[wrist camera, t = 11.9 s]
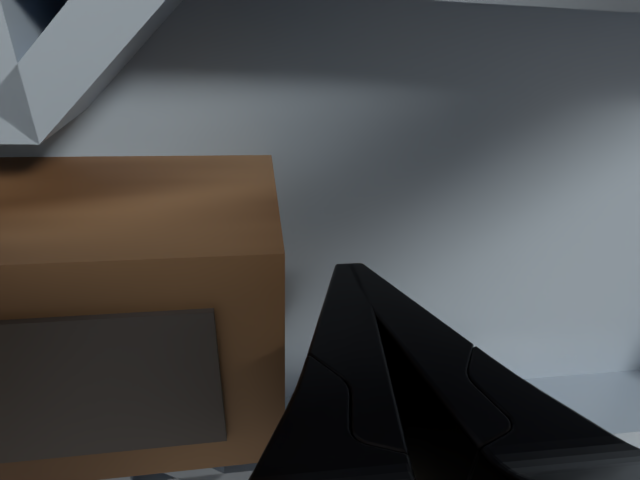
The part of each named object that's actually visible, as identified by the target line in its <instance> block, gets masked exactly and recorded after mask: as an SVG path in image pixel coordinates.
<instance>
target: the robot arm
mask: <svg viewBox="0 0 640 480" xmlns="http://www.w3.org/2000/svg"><path fill="white" fill-rule="evenodd" d="M248 480H640V448H637V447H635V446H633V445H631V444H629V443H627V442H625V441H623V440H622V439H620V438H618V437H616V436H615V435H613V434H611V433H610V432H608V431H606V430H605V429H603V428H602V427H600V426H598V425H597V424H595V423H593V422H592V421H590V420H589V419H587V418H585V417H584V416H582V415H580V414H579V413H577V412H576V411H574V410H572V409H571V408H569V407H567V406H566V405H564V404H563V403H561V402H559V401H558V400H556V399H554V398H553V397H551V396H550V395H548V394H546V393H545V392H543V391H541V390H540V389H538V388H537V387H535V386H534V385H532V384H531V383H529V382H527V381H526V380H524V379H523V378H521V377H520V376H518V375H516V374H515V373H514V372H512V371H511V370H509V369H508V368H506V367H505V366H503V365H502V364H501V363H499V362H498V361H496V360H495V359H493V358H492V357H491V356H489V355H488V354H486V353H485V352H484V351H482V350H481V349H480V348H478V347H477V346H475V347H474V345H473V343H471V342H470V341H468V340H467V339H466V338H464V337H463V336H462V335H460V334H459V333H457V332H456V331H455V330H453V329H452V328H451V327H449V326H448V325H446V324H445V323H444V322H442V321H441V320H440V319H438V318H437V317H436V316H434V315H433V314H431V313H430V312H429V311H427V310H426V309H425V308H423V307H422V306H420V305H419V304H418V303H416V302H415V301H414V300H412V299H411V298H409V297H408V296H407V295H405V294H404V293H403V292H401V291H400V290H398V289H397V288H396V287H394V286H393V285H392V284H390V283H389V282H388V281H386V280H385V279H383V278H382V277H381V276H379V275H378V274H377V273H375V272H374V271H372V270H371V269H370V268H368V267H367V266H366V265H364V264H362V263H344V264H336V265H335V268H334V271H333V274H332V277H331V280H330V283H329V287H328V290H327V293H326V296H325V299H324V303H323V306H322V309H321V312H320V315H319V318H318V322H317V325H316V328H315V331H314V334H313V337H312V341H311V344H310V347H309V350H308V353H307V357H306V359H305V362H304V365H303V368H302V371H301V374H300V377H299V379H298V382H297V385H296V388H295V390H294V392H293V394H292V397H291V399H290V401H289V403H288V405H287V407H286V409H285V412H284V413H283V415H282V417H281V419H280V421H279V423H278V425H277V427H276V429H275V431H274V432H273V434H272V436H271V438H270V440H269V442H268V444H267V446H266V448H265V450H264V452H263V453H262V455H261V457H260V459H259V461H258V463H257V465H256V467H255V469H254V470H253V472H252V474H251V476H250V477H249V479H248Z"/></svg>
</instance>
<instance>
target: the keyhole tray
mask: <svg viewBox="0 0 640 480" xmlns="http://www.w3.org/2000/svg"><path fill="white" fill-rule="evenodd" d="M206 155H272V163H273V170H274V177H275V184H276V192H277V199H278V206H279V214H280V221H281V228H282V235H283V243H284V250H285V409H286V407H287V405H288V403H289V401H290V399H291V397H292V394H293V392H294V390H295V388H296V385H297V382H298V379H299V377H300V374H301V371H302V368H303V365H304V362H305V359H306V357H307V353H308V350H309V347H310V344H311V341H312V337H313V334H314V331H315V328H316V325H317V322H318V318H319V315H320V312H321V309H322V306H323V303H324V299H325V296H326V293H327V290H328V287H329V283H330V280H331V277H332V274H333V271H334V268H335V265H336V264H344V263H362V264H364V265H366V266H367V267H368V268H370V269H371V270H372V271H374V272H375V273H377V274H378V275H379V276H381V277H382V278H383V279H385V280H386V281H388V282H389V283H390V284H392V285H393V286H394V287H396V288H397V289H398V290H400V291H401V292H403V293H404V294H405V295H407V296H408V297H409V298H411V299H412V300H414V301H415V302H416V303H418V304H419V305H420V306H422V307H423V308H425V309H426V310H427V311H429V312H430V313H431V314H433V315H434V316H436V317H437V318H438V319H440V320H441V321H442V322H444V323H445V324H446V325H448V326H449V327H451V328H452V329H453V330H455V331H456V332H457V333H459V334H460V335H462V336H463V337H464V338H466V339H467V340H468V341H470V342H471V343H473V345H474V347H475V346H477V347H478V348H480V349H481V350H482V351H484V352H485V353H486V354H488V355H489V356H491V357H492V358H493V359H495V360H496V361H498V362H499V363H501V364H502V365H503V366H505V367H506V368H508V369H509V370H511V371H512V372H514V373H515V374H516V375H518V376H520V377H521V378H523V379H524V380H526V381H527V382H529V383H531V384H532V385H534V386H535V387H537V388H538V389H540V390H541V391H543V392H545V393H546V394H548V395H550V396H551V397H553V398H554V399H556V400H558V401H559V402H561V403H563V404H564V405H566V406H567V407H569V408H571V409H572V410H574V411H576V412H577V413H579V414H580V415H582V416H584V417H585V418H587V419H589V420H590V421H592V422H593V423H595V424H597V425H598V426H600V427H602V428H603V429H605V430H606V431H608V432H610V433H611V434H613V435H615V436H616V437H618V438H620V439H622V440H623V441H625V442H627V443H629V444H631V445H633V446H635V447H637V448H640V0H0V157H82V156H206ZM256 465H257V463H252V464H243V465H233V466H224V467H215V468H205V469H196V470H187V471H177V472H168V473H159V474H149V475H140V476H131V477H121V478H112V479H103V480H248V479H249V477H250V476H251V474H252V472H253V470H254V469H255V467H256Z"/></svg>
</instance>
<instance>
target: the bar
mask: <svg viewBox="0 0 640 480" xmlns="http://www.w3.org/2000/svg"><path fill="white" fill-rule="evenodd" d="M284 412H285V250H284V243H283V235H282V228H281V221H280V214H279V206H278V199H277V192H276V184H275V177H274V170H273V163H272V155H206V156H82V157H0V480H103V479H112V478H121V477H131V476H140V475H149V474H159V473H168V472H177V471H187V470H196V469H205V468H215V467H224V466H233V465H243V464H252V463H258V461H259V459H260V457H261V455H262V453H263V452H264V450H265V448H266V446H267V444H268V442H269V440H270V438H271V436H272V434H273V432H274V431H275V429H276V427H277V425H278V423H279V421H280V419H281V417H282V415H283V413H284Z"/></svg>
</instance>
